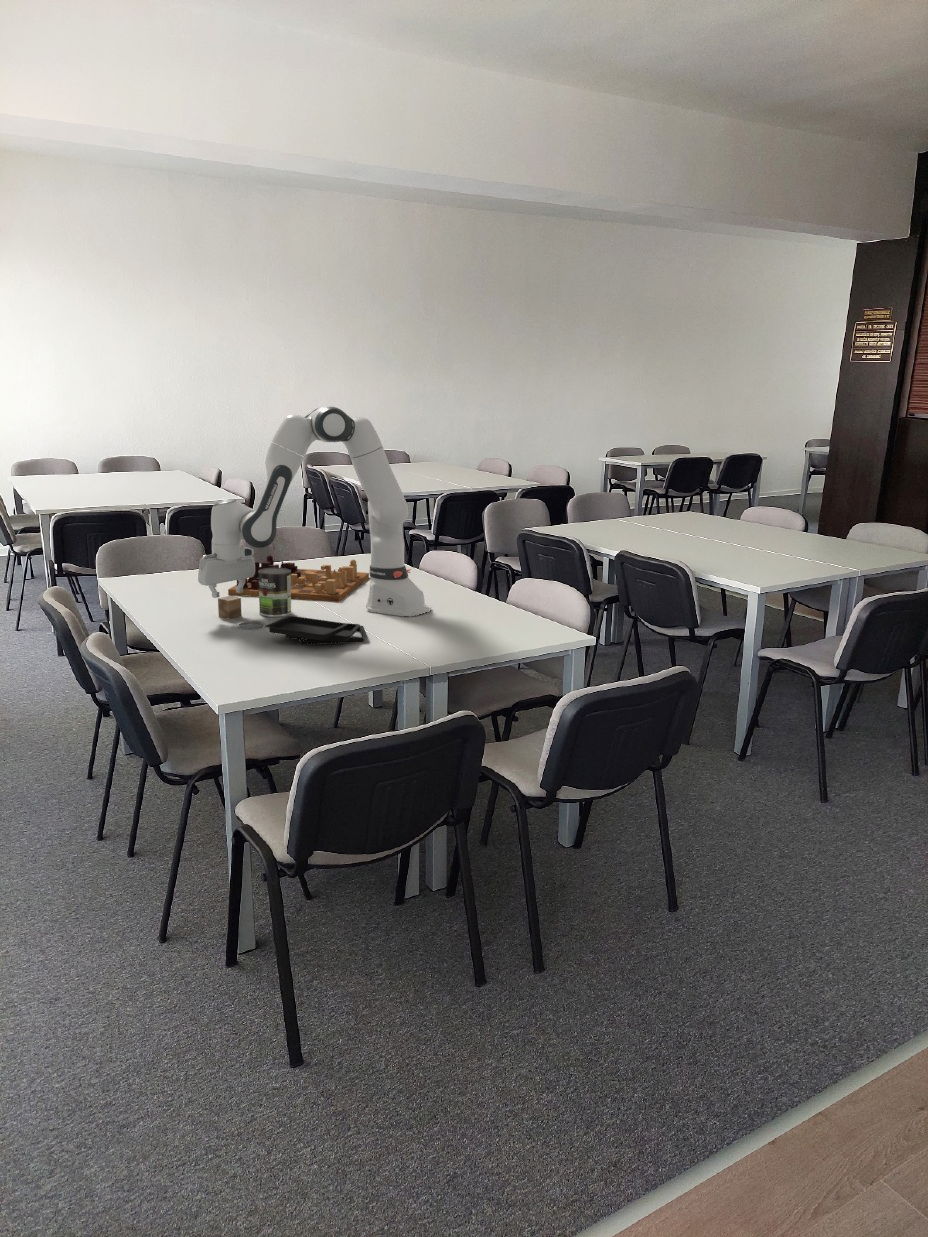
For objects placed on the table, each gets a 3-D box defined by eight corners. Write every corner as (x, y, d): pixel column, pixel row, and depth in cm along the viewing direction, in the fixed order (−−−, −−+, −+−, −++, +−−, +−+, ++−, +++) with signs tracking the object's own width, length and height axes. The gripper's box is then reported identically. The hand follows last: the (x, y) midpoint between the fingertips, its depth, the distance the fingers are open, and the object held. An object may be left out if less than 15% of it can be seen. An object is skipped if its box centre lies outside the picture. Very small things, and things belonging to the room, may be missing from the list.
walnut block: (241, 616, 285) (240, 598, 283) (229, 619, 281) (228, 600, 279) (231, 613, 288) (230, 595, 286) (218, 616, 284) (217, 598, 282)
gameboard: (338, 603, 307) (338, 577, 305) (228, 596, 313) (227, 570, 310) (368, 579, 345) (368, 556, 343) (270, 573, 351) (269, 550, 349)
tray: (357, 626, 277) (357, 610, 275) (380, 647, 256) (380, 629, 255) (259, 634, 265) (259, 618, 264) (275, 657, 245) (274, 639, 243)
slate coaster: (267, 627, 274) (267, 624, 274) (249, 631, 269) (249, 628, 269) (251, 623, 278) (251, 620, 278) (234, 627, 273) (233, 624, 272)
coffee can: (278, 618, 283) (276, 575, 279) (252, 614, 287) (251, 571, 284) (298, 612, 292) (297, 569, 288) (273, 607, 296) (272, 566, 293)
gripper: (206, 557, 269) (207, 602, 272) (257, 549, 285) (258, 591, 289) (192, 554, 272) (194, 598, 276) (244, 546, 289) (245, 588, 292)
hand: (227, 594), depth 283 cm, fingers open, 8 cm apart
